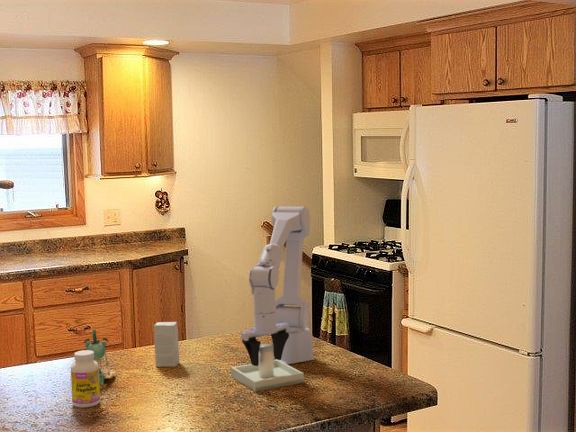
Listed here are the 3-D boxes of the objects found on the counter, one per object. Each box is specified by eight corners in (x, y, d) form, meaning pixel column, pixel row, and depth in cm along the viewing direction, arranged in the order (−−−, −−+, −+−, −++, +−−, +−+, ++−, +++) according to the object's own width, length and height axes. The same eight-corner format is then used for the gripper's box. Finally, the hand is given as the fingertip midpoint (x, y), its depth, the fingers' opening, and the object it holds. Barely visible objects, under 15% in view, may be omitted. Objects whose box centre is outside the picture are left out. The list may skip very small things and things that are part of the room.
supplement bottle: (72, 409, 189) (69, 357, 187) (72, 401, 195) (69, 350, 194) (101, 406, 190) (98, 354, 189) (99, 398, 197) (97, 347, 195)
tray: (277, 368, 218) (277, 359, 218) (303, 382, 205) (303, 373, 204) (231, 376, 212) (230, 367, 211) (255, 391, 198) (254, 382, 198)
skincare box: (179, 362, 226) (178, 321, 225) (176, 366, 222) (174, 325, 220) (159, 362, 227) (157, 321, 225) (155, 366, 222) (153, 325, 221)
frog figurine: (73, 392, 202) (70, 334, 202) (83, 378, 220) (80, 325, 220) (111, 389, 203) (108, 332, 204) (118, 376, 221) (115, 323, 221)
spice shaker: (266, 372, 211) (265, 343, 210) (277, 375, 208) (276, 345, 207) (255, 375, 208) (254, 346, 207) (265, 378, 205) (265, 348, 204)
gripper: (276, 304, 214) (278, 353, 215) (233, 313, 205) (235, 364, 206) (293, 308, 208) (294, 358, 210) (249, 318, 199) (251, 370, 201)
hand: (266, 362), depth 208 cm, fingers open, 7 cm apart
